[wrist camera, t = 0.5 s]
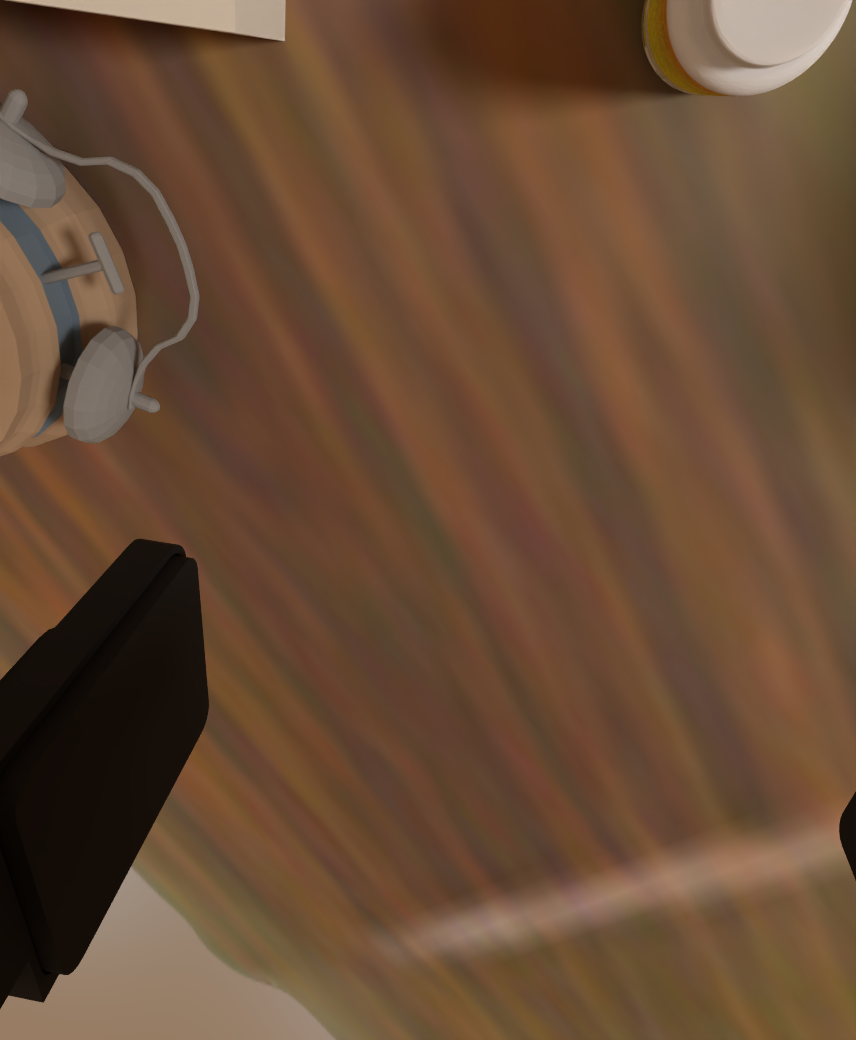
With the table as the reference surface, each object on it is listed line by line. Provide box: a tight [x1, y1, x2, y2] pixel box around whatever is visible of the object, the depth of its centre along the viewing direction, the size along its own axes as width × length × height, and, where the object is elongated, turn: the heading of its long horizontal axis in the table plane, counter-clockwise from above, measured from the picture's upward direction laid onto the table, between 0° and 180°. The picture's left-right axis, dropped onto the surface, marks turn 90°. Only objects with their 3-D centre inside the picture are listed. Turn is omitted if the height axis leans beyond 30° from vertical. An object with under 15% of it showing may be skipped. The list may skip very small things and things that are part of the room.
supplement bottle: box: [642, 0, 852, 96], centre depth 25 cm, size 6×6×10 cm
